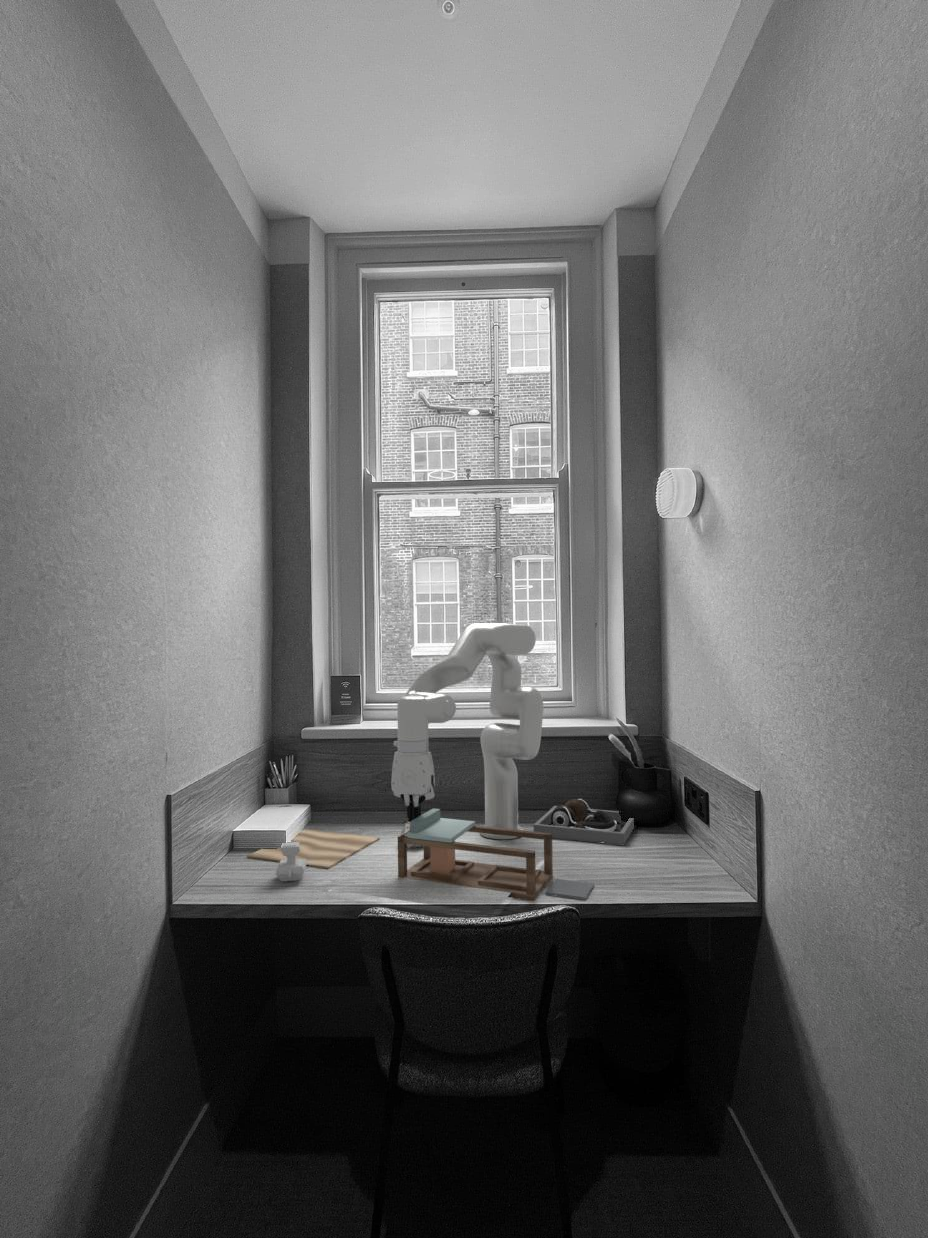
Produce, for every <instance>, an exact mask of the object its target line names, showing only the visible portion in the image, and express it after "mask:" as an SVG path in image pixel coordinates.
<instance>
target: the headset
mask: <svg viewBox="0 0 928 1238" xmlns="http://www.w3.org/2000/svg"><path fill="white" fill-rule="evenodd" d="M556 806H557V807H556V808H555V809H554V811H553V812H552V814H551V822H552V823H551V825H554V826H564V827H574V828H584V829H594V830H604V831H615V830H616V829H617V824H619V825H620V827H621V829H622V828H623V827H624V825H625V824H626V822H619V821H618V820H616V819H614V818H613V817H612V816H610V815H607V814H605V813H604V812H603V811H601V810H602V809H597V810H598V811H592V810H591V809H592V808H590V807H589V804H588V803H587V802H586V801H585V800H583V799H582V798H576V799H575V798H573V799H572V798H571V799H569V800H567V801H566V802H565V803H564V804H563V805H562V804H561V805H556ZM587 809H589V810H587ZM588 813H594V815H593V816H592V815H589V816H588V817H587V814H588ZM590 816H591V817H593V818H594V819H595V821H594V822H596V823H597V824H594V823H593V824H592V823H586V821H588V820H587V819H588V818H589V817H590ZM586 817H587V818H586ZM615 820H616V821H617V822H619V823H617V822H616V821H615ZM599 823H600V824H599Z"/></svg>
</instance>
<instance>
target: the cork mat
mask: <svg viewBox="0 0 928 1238" xmlns="http://www.w3.org/2000/svg"><path fill="white" fill-rule="evenodd" d="M299 831H300V832H299ZM299 831H298V832H299V833H298V835H296V836H295V837H294V838H293V839H292V840H291V842H300V852H299V853H298V855H296V859H306V861H307V865H309V866H308V867H311V866H313V867H312V868H318V867H320V868H319V869H325V868H329V869H331V868H332V867H334V866H336V865H338V864H340V863H341V862H343V861H345V860H347V859H348V858H350V857H352V856H353V855H355V854H357V853H358V851H359V850H360V851H362V850H364V849H365V847H366V848H367V847H369V846H371V845H372V844H374V843H376V842H377V841H380V840H381V839H380V837H377V836H369V835H360V834H352V833H351V834H350V833H343V832H336V831H326V830H317V829H309V828H304V829H302V830H299ZM368 845H369V846H368ZM361 849H362V850H361ZM360 851H359V852H360ZM356 852H357V853H356ZM354 853H355V854H354ZM351 855H352V856H351ZM349 856H350V857H349ZM347 857H348V858H347ZM246 858H247V859H255V860H261V861H268V860H269V862H274V863H275V862H277V863H280V861H281V860H286V859H287V856H283V853H281V848H277V849H263V848H260V849H259V850H257V851H254V852H252V853H251V854H250V853H249V854H247V855H246ZM346 858H347V859H346ZM339 862H340V863H339ZM337 863H338V864H337Z"/></svg>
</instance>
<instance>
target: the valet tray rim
mask: <svg viewBox="0 0 928 1238" xmlns="http://www.w3.org/2000/svg"><path fill="white" fill-rule="evenodd" d="M557 806H558V805H553V806H552V807H551V808H550V809H549V810H548V811H547V812H546V813H545V814H544V815H543V816H541V817H540V818H539V819H538V820H537V821H536V822H535V823H534V824H533V831H534V832H544V833H552V839H558V840H559V839H560V840H566V841H567V840H569V841H576V840H578V842H588V843H595V842H604V843H610V844H609V845H614V844H623V845H624V844H626V843H627V841H628V840H627V839H629V838H630V836H631V835H632V833H633V831H634V830H635V828H634V818H629V819H628V821H627V822H626V824H625V825H624V827H623V828H621V830H620V831H615V830H614V831H604V830H594V829H584V828H574V827H575V826H574V827H564V826H554V825H553V824H552V823H551V814H552V812H553V811H554V809H555V808H556V807H557ZM590 809H591V810H592V811H598V810H599V809H596V808H595V809H594V808H590ZM587 810H589V809H588V808H587ZM600 810H601V811H603V812H604V813H605V814H607V815H610V816H612V817H613V818H614V819H616V820H618V821H619V822H621V816H620V814H619V810H607V809H600ZM589 815H592V816H593V815H594V813H588V814H587V817H588V816H589ZM587 817H586V818H587ZM591 820H595V819H594V818H593V817H591V816H590V817H589V818H588V820H587V821H591ZM616 820H615V821H616ZM616 822H617V821H616ZM549 824H550V825H549ZM633 829H634V830H633ZM632 830H633V831H632ZM631 832H632V833H631ZM630 834H631V835H630ZM629 835H630V836H629ZM628 837H629V838H628ZM626 840H627V841H626ZM625 842H626V843H625ZM604 843H603V844H604ZM623 845H622V846H623ZM624 846H625V845H624Z"/></svg>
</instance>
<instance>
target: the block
mask: <svg viewBox="0 0 928 1238" xmlns="http://www.w3.org/2000/svg"><path fill="white" fill-rule="evenodd" d="M453 842H456V840H454V841H453ZM455 860H456V849H447V848H439V847H431V846H430V863H431V872H435V873H442V874H449V873H450V872H451V871H452V870H454V869H455Z"/></svg>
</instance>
